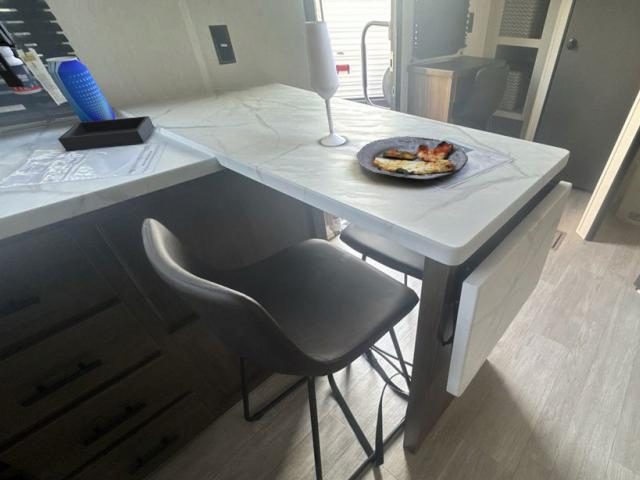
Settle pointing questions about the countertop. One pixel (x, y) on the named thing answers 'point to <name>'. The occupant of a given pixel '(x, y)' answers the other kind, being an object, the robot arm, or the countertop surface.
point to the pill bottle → (20, 73)
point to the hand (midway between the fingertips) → (22, 83)
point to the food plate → (412, 157)
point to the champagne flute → (323, 71)
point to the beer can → (79, 89)
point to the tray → (107, 133)
